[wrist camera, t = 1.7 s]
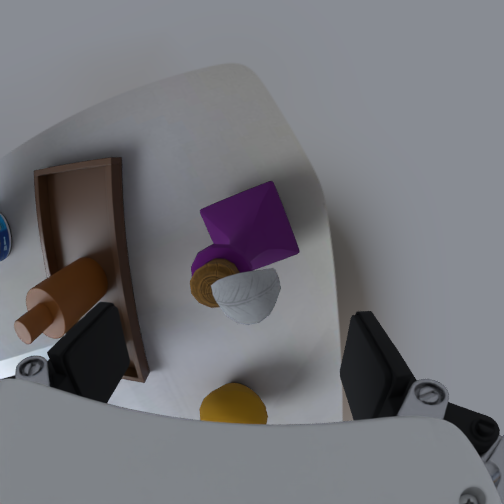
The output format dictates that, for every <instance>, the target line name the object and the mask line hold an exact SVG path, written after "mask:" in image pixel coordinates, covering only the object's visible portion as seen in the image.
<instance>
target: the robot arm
mask: <svg viewBox="0 0 504 504" xmlns="http://www.w3.org/2000/svg"><path fill="white" fill-rule="evenodd" d="M47 353H48V356H49V358H50V359H49V360H48V361H47V360H46V359H45V358H44V357H41V356H30V357H27V358H25V359H23V360H22V361H21V362H20V363H19V364H18V365H17V367H16V374H15V376H12V377H8V378H4V379H0V504H504V435H503V436H500V435H499V431H500V430H499V427H498V424H497V423H496V422H495V421H494V420H493V419H492V418H491V417H488V416H486V415H483V414H480V413H477V412H474V411H472V410H468V409H466V408H463V407H460V406H457V405H455V404H452V403H449V402H448V400H449V393H448V390H447V389H446V388H445V386H444V385H442V384H441V383H440V382H437V381H435V380H431V379H421V380H416V379H415V377H414V375H413V374H412V372H411V371H410V369H409V367H408V366H407V364H406V362H405V361H404V359H403V358H402V356H401V355H400V353H399V351H398V350H397V348H396V347H395V345H394V344H393V343H392V341H391V340H390V338H389V337H388V335H387V334H386V332H385V331H384V329H383V328H382V326H381V325H380V323H379V322H378V320H377V319H376V317H375V316H374V314H373V313H372V312H371V311H361V312H356V315H352V317H351V320H350V326H349V331H348V336H347V341H346V346H345V350H344V355H343V359H342V364H341V368H340V377H341V381H342V384H343V387H344V390H345V393H346V397H347V399H348V403H349V406H350V409H351V413H352V416H353V419H354V421H343V422H332V423H315V424H287V425H268V424H240V423H224V422H212V421H202V420H193V419H185V418H178V417H171V416H165V415H159V414H153V413H148V412H142V411H137V410H133V409H128V408H123V407H119V406H115V405H111V404H107V402H108V400H109V399H110V397H111V395H112V394H113V392H114V390H115V389H116V387H117V385H118V384H119V382H120V380H121V379H122V377H123V375H124V374H125V372H126V370H127V369H128V367H129V364H130V358H129V354H128V350H127V346H126V342H125V338H124V334H123V329H122V325H121V320H120V315H119V310H118V308H117V307H116V306H115V305H114V304H113V303H110V302H99V303H98V304H97V305H96V306H95V307H93V308H92V309H91V310H90V311H89V312H88V313H87V314H86V315H85V316H84V317H83V318H82V319H81V320H80V321H79V322H78V323H76V324H75V325H74V326H73V327H72V328H71V329H70V330H69V331H68V332H67V333H66V334H65V335H64V336H63V337H62V338H61V339H60V340H59V341H58V342H57V343H56V344H55V345H54V346H53V347H52V348H51V349H50V350H49V351H48V352H47Z"/></svg>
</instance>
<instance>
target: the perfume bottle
mask: <svg viewBox="0 0 504 504" xmlns="http://www.w3.org/2000/svg"><path fill="white" fill-rule="evenodd" d="M200 214H201V216H202V218H203V221H204V223H205V225H206V227H207V230H208V232H209V234H210V236H211V239H212V241H213V243H214V244H212V245H210V246H209V247H207V248H205V249H203V250H202V251H200V252H198V254H197V256H196V258H195V260H194V262H193V264H192V266H191V272H192V278H191V280H190V287H191V294H192V295H193V296H194V297H195V299H196V300H197V301H198V302H199V303H201V304H203V305H206V306H208V307H211V308H214V307H220V308H221V309H222V311H223V312H224V313H225V315H226V316H227V317H229V318H231V319H232V320H234V321H235V322H237V323H240V324H246V325H250V324H255V323H260V322H261V321H262V320H263V319H265V318H266V317H267V316H269V315H270V313H271V311H272V309H273V308H274V306H275V303H276V301H277V298H278V295H279V292H280V289H281V286H280V281H279V277H278V275H277V273H276V270H274V269H273V268H271V269H264V270H256V271H253V270H255V269H258V268H261V267H264V266H266V265H269V264H272V263H274V262H277V261H280V260H283V259H285V258H288V257H291V256H293V255H296V254H298V253H299V248H298V245H297V242H296V239H295V237H294V234H293V231H292V229H291V226H290V223H289V221H288V218H287V215H286V213H285V210H284V208H283V205H282V202H281V200H280V197H279V195H278V192H277V190H276V187H275V185H274V183H273V182H272V181H269V182H266V183H264V184H261V185H259V186H256V187H254V188H251V189H249V190H246V191H244V192H241V193H239V194H236V195H234V196H231V197H229V198H226V199H224V200H221V201H219V202H217V203H214V204H212V205H210V206H207V207H205V208H203V209H201V210H200Z"/></svg>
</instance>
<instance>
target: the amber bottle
mask: <svg viewBox="0 0 504 504" xmlns="http://www.w3.org/2000/svg"><path fill="white" fill-rule="evenodd" d="M107 288H108V282H107V277H106V274H105V272H104V270H103V269H102V267H101V266H100V265H99V264H98V263H97V262H96V261H95V260H93V259H91V258H88V257H82V258H79V259H77V260H76V261H74V262H72V263H71V264H69V265H67V266H66V267H64V268H63V269H61V270H59V271H58V272H56V273H55V274H53V275H51V276H50V277H48V278H47V279H45V280H44V281H42V282H41V283H39V284H38V285H36V286H35V287H33V288H32V289H30V290H29V291H28V293H27V296H26V306H27V310H28V312H26V313H25V314H24V315H23V316H21V317H20V318H19V319H18V320H16V321H15V323H14V328H15V331H16V334H17V335H18V337H19V338H20V339H21V340H22V341H23V342H24V343H26V344H31V343H32V342H33V341H34V340H35V339H36V338H37V337H38V336H39V335H40V334H41V333H43V334H45V335H46V336H48V337H51V338H55V339H57V338H60V337H62V336H63V335H64V334H65V333H66V332H67V331H68V330H69V329H70V328H71V327H72V326H73V325H74V324H75V323H76V322H77V321H78V320H79V319H80V318H81V317H82V316H84V315H85V314H86V313H87V312H88V311H89V310H90V309H91V308H92V307H93V306H94V305H95V304H96V303H97V302H98V301H99V300H100V299H101V298H103V297H104V295H105V294H106V292H107Z"/></svg>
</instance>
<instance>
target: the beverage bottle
mask: <svg viewBox="0 0 504 504" xmlns="http://www.w3.org/2000/svg"><path fill="white" fill-rule="evenodd" d="M10 249H11V234H10V229H9V226H8V223H7V221H6V219H5V218H4V216H3V215H2V214H1V213H0V261H2V260H4V259H5V258H7V256H8V255H9V253H10Z"/></svg>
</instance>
